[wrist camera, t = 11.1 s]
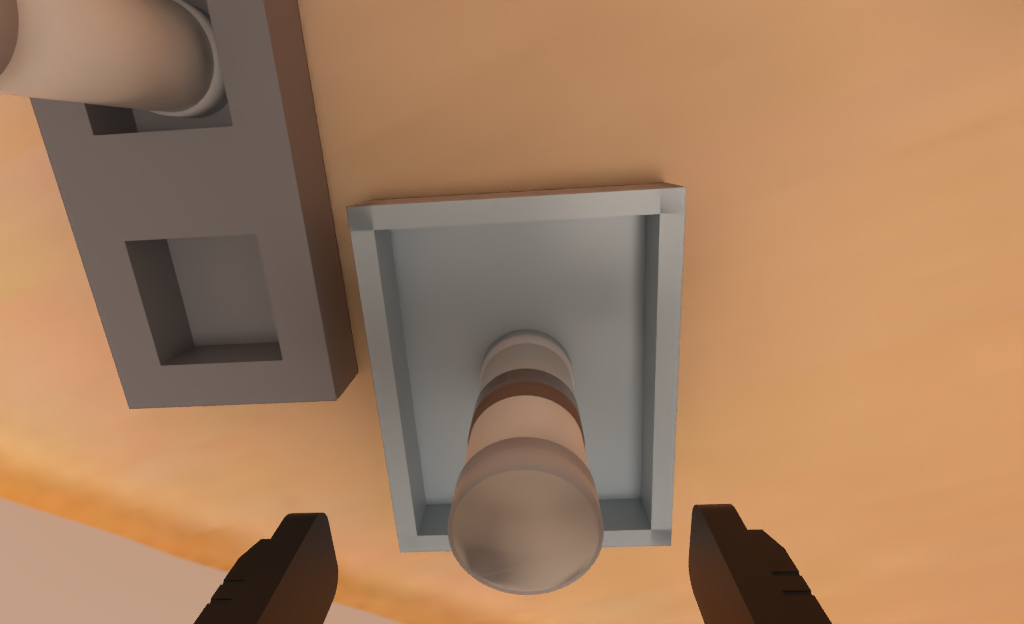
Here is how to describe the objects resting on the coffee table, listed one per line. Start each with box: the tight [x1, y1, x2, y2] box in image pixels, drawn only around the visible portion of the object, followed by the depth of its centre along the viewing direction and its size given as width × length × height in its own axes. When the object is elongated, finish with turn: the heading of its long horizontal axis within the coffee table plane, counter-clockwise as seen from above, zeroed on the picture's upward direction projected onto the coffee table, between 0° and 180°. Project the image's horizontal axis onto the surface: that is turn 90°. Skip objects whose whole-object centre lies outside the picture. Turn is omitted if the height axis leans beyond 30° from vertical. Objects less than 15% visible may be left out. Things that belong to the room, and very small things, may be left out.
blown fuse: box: [447, 330, 604, 595], centre depth 16 cm, size 4×4×9 cm
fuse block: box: [30, 0, 358, 409], centre depth 18 cm, size 16×8×2 cm, turn 4°
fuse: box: [0, 0, 228, 118], centre depth 13 cm, size 4×4×9 cm
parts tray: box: [346, 183, 686, 552], centre depth 20 cm, size 14×11×2 cm
